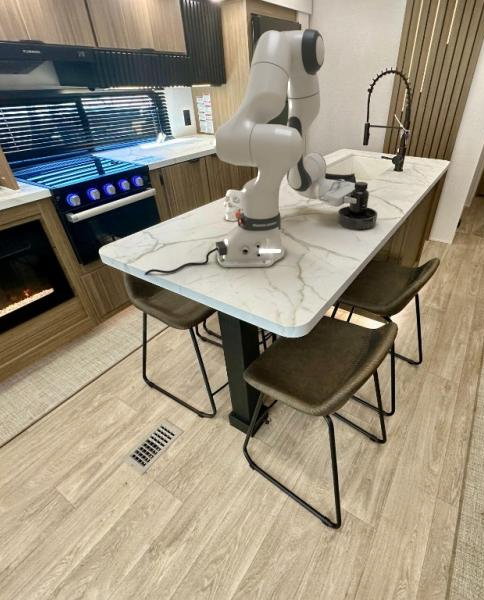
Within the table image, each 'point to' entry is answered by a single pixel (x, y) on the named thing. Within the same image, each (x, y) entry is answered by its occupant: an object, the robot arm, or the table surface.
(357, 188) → the supplement bottle
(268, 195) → the robot arm
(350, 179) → the magazine
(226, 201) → the skull bowl
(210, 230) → the table surface
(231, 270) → the table surface
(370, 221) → the bowl
